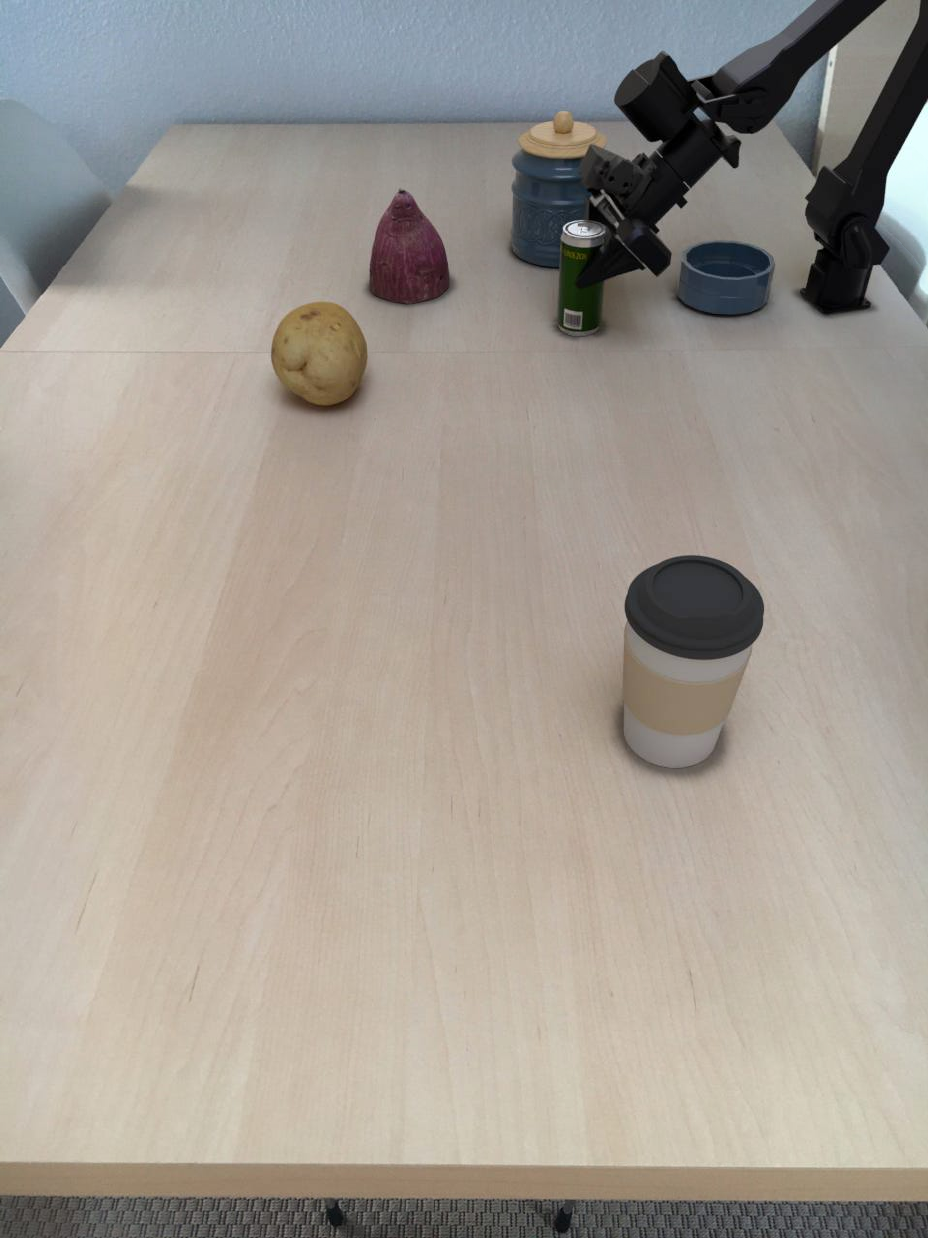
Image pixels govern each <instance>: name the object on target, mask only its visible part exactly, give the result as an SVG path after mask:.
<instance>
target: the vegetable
mask: <svg viewBox="0 0 928 1238" xmlns="http://www.w3.org/2000/svg"><path fill="white" fill-rule="evenodd" d="M369 262H370V263H369V281H368V282H369V291H370V292H371V294H372V295H374V296H376V297H378V298H379V299H384V300H387V301H388V302H389V301H390V302H393V303H398V304H399V303H400V304H404V305H406V304H416V303H420V302H421V303H422V302H424V301H425V302H426V301H429V300H432V299H436V298H437V297H439V296H441V295H442V294H443V293H444V292H445V291H446V290H448V288H449V287H450V282H451V281H450V269H449V262H448V256H447V251H446V248H445V244H444V242H443V239H442V238H441V236H440V234H439V232H438V231H437V229H436V227H435V226H434V225H433V223H432V222H431V221H430V219H429V218H428V216H427V215H425V214H424V212H423V211H422V210H421V208H420V207H419V205H418V204H417V202H416V200H415V197H414V196H413V195H412V194H411V193H410V192H409V191H407V190H405V189H403V188H402V187H398V191H397V192H396V194H395V195H394V196H393V198H392V200H391V202H390V204H389V206H388V207H387V208H386V209H385V211H384V212H383V214H382V216H381V217H380V220H379V222H378V224H377V226H376V230H375V235H374V239H373V244H372V246H371V253H370V261H369Z"/></svg>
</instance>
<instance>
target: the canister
mask: <svg viewBox="0 0 928 1238" xmlns="http://www.w3.org/2000/svg"><path fill="white" fill-rule="evenodd" d="M590 144H593V145H596V146H598V147H601V148H603V149H606V147H607V144H608V140H607V138H606V137H605V135H603V134H602V133H600V132H599V131H597V130H596V128H595V127H594V126H592V125H590V124H589V123H585V122H583V121H582V122H581V121H577V120H574V117H573V114H572V113H571V112H570V111H567V110H561V111H558V112H557V113H556V114H555V115H554V118H553V119H552V120H551V121H545V122H541V123H538V124H536V125H534V126H532V127H531V128H530V130H528V131H525V132H524V133H523V134H521V136H520V137H519V139H518V146H519V147H520V149H519V150H517V152H515V153H514V154H513V156H512V158H511V164H512V167H513V168H514V169H515V177H514V180H513V181H512V182H511V192H512V211H511V212H512V219H511V221H512V222H511V223H512V224H511V229H510V242H511V245H512V250H513V253H514V254H515V256H517V257H518V258H519V259H521V260H523V261H525V262H527V263H530V264H532V265H537V266H542V267H548V268H549V267H550V268H559V265H560V243H561V234H562V233H563V227H564V226H565V225H566V224H567V223H569V222H573V221H578V220H584V217H585V202H584V200H583V198H584V195H586V196H587V197H588V198H590V197H591V196H592V194H591V192H590V193H588V192H587V191H586V189H585V188H584V187H583V185H582V184H581V182H580V181H581V180H582V179H583V177H582V175H579V174H578V173H577V171H578V169H579V167H580V165H581V163H582V160H583V158H584V156H585V154H586V152H587V150H588V148H589V146H590Z"/></svg>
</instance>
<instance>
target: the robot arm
mask: <svg viewBox="0 0 928 1238" xmlns="http://www.w3.org/2000/svg"><path fill="white" fill-rule="evenodd" d="M887 1H888V0H815V1H814V2H813V3H811V4H810V5H809V6H807V8H806V9H805V10H804V11H803V12H802V13H800V14H799V15H798V16H797V17H796V18H795V19H794V20H793V21H791V22H790V23H789V24H788V25H787V26H786V27H785V28H784V29H783V30H782V31H780V32H779V33H778V34H776V35H775V36H773V37H772V38H770V39H768V40H766V41H764V42H761V43H759V44H756V45H754V46H752V47H749V48H747V49H745V50H744V51H743V52H741V53H739V54H738V55H737V56H735V57H733V59H731V60H729V61H728V62H726V63H725V64H723V65H722V66H721V67H720V68H719V69H718V70H716V72H715V73H711V74H707V75H703V76H699V77H694V78H690V79H687V78H686V77H685V76H684V75H683V73H682V72H681V71H680V69H679V67H678V64H677V63H676V61H675V60H674V59H673V58H672V57H671V55H670V54H668V52H666V51H665V50H660V52H659V53H658V54H657V55H656V56H655V57H654V58H652V59H651V58H650V59H648V60H646V61H644V62H642V63H641V64H640V65H638V66H637V67H636V68H635V69H634V68H632V69H631V70H630V71H629V72H628V73H627V74H626V76H624V78H623V79H622V81H621V82H620V84H619V85H618V86H617V89H616V91H615V93H614V97H613V103H614V105H615V106H616V107H617V108H618V110H619V111H620V112H621V113H622V114H623V115H624V116H625V117H626V118H627V120H628V121H629V122H630V123H631V124H632V125H633V127H634V128H635V129H636V130H637V131H638V132H639V133H640V134H641V135H642V136H643V137H644V139H645V140H646V141H647V142H649V143H656V142H660V141H661V144H660V145H659V146H658V147H656V150H654V151H653V152H652V153H651V154H650V155H649V156H648V155H647V154H646V153H645V152H642V153H639V154H637V155H636V156H635V157H634V158H633V159H632V160H631V159H629V158H625V157H623V156H621V155H619V154H618V153H614V152H612V151H610V150H608V149H606V148H604V149H603V148H601V147H598V146H596V145H593V144H590V146H589V148H588V150H587V152H586V154H585V156H584V158H583V160H582V163H581V165H580V167H579V169H578V171H577V173H578V174H579V175H582V177H583V179H582V180H581V181H580V182H581V184H582V185H583V187H584V188H585V189H586V191H587V192H588V193H590V192H591V194H592V196H591V197H590V198H588V197H587V196H586V195H584V198H583V200H584V202H585V217H584V220H590V221H596V222H599V223H601V224H603V225H604V226H605V234H604V243H603V245H602V247H601V248H600V249H599V251H598V252H597V253H596V254H595V256H594V257H593V258H592V259H591V261H590V262H589V263H588V264H587V266H586V267H585V268H584V269H583V271H582V272H581V273H580V275H579V276H578V278H577V279H576V280H575V282H574V284H575V286H576V287H577V288H578V289H584V288H586V287H589V286H591V285H594V284H597V283H599V282H602V281H604V282H605V281H608V280H610V279H612V278H616V277H618V276H621V275H624V274H629V273H630V272H634V271H638V270H640V271H644V270H646V269H648V270H649V271H650V272H651V273H652V274H653V275H654V276H655V277H656V278H659V277H660V276H661V275H662V274H663V272H665V271H666V270H667V269H668V268H669V267H670V266H671V263H672V255H673V252H672V251H671V250H670V248H669V247H668V246H667V245H666V244H665V242H664V241H663V240H662V239H661V237H659V236H658V233H659V232H660V231H661V230H660V228H659V227H658V226H657V224H658V223H659V222H660V221H661V220H662V219H663V218H664V217H665V215H667V214H668V213H669V212H670V211H671V209H673V208H674V206H677V207H679V208H680V210H682V209H683V208H684V207H685V206H686V205H687V204H688V203H689V201H688V200H687V199H686V198H685V195H687V193H688V192H689V191H690V190H691V189H693V187H694V186H695V185H696V184H697V183H698V182H699V181H700V180H701V179H702V178H703V177H704V176H705V175H706V174H707V173H708V172H709V171H710V170H711V169H712V168H713V167H714V166H715V165H716V164H717V163H718V162H719V161H720V160H721V159H723V160H724V162H725V163H727V165H729V166H730V167H731V168H732V169H733V170H734V169H735V170H736V169H737V168H738V167H739V166H740V149H741V145H742V141H741V140H740V139H739V138H738V137H737V136H736V135H735V134H731V135H726V134H725V132H724V131H723V129H721V127H720V126H719V125H718V124H717V123H722V124H725V125H727V126H728V127H729V128H730V129H731V130H732V132H736V133H738V134H741V135H749V134H750V135H754V134H757V133H759V132H760V131H761V130H763V129H765V128H766V127H767V126H768V125H769V124H770V123H771V121H773V119H774V118H775V117H776V116H777V115H778V114H779V113H780V111H782V110H783V108H784V107H785V106H786V105H787V103H788V102H789V101H790V100H791V98H792V97H793V94H794V92H795V91H796V88H797V86H798V85H799V83H800V81H801V79H802V78H803V77H804V76H805V74H806V73H807V72H808V71H809V70H810V69H811V68H812V67H814V66H815V65H816V64H817V63H818V62H819V61H821V59H822V58H823V57H824V56H826V54H828V53H829V52H830V51H831V50H832V49H834V48H835V47H836V46H837V45H838V44H840V42H841V41H843V40H844V39H845V38H846V37H847V36H848V35H850V34H851V33H852V32H853V31H854V30H855V29H856V28H858V26H860V25H861V24H862V23H864V21H865V20H866V19H868V18H869V17H870V16H871V15H872V14H874V12H876V10H878V9H879V8H880V7H881V6H883V4H885V3H886V2H887ZM918 9H919V11H918V17H917V20H916V23H915V25H914V27H913V29H912V30H911V33H910V35H909V36H908V38H907V40H906V41H905V42H906V43H905V44H904V46H903V48H902V51H900V54H899V56H898V58H897V60H896V61H895V64H894V66H893V67H892V70H891V71H890V73H889V76H888V77H887V79H886V81H885V83H884V85H883V87H882V89H881V91H880V93H879V95H878V98H876V100H875V103H874V105H873V106H872V109H871V111H870V113H869V115H868V116H867V119H866V121H865V123H864V124H863V126H862V128H861V130H860V132H859V134H858V136H857V138H856V139H855V142H854V144H853V146H852V147H851V150H850V152H849V154H848V155H847V156H846V158H844V160H842V161H841V162H840V163H838V164H837V165H836V166H835V167H834V168H833V169H832V168H830V167H828V166H827V165H823V166H822V167H821V168H820V170H819V172H818V174H817V177H816V180H815V182H814V185H813V187H812V189H811V190H810V191H809V192H808V193H807V194H806V196H805V197H804V199H805V200H806V201H807V204H806V207H805V211H804V216H805V219H806V223H807V225H808V227H809V228H810V229H811V230H812V232H813V240H815V242H816V243H817V242H818V243H819V244H820V245H821V246H822V248H820V249H817V250H816V253H815V258H814V262H813V263H811V264H810V268H809V272H808V277H807V281H806V285H805V287H802V288H800V290H799V294H800V295H801V296H803V297H804V298H805V299H806V300H807V301H808V302H810V304H812V305H813V306H814V307H815V308H817V310H819V311H820V312H821V313H822V314H824V315H830V314H837V313H844V312H849V311H856V310H863V309H869V308H871V306H872V302H871V301H870V300H868V299H867V298H866V294H867V290H868V286H869V283H870V279H871V275H872V272H873V269H874V266H881V264H882V263H883V262H884V260H885V258H886V257H887V256H888V254H889V252H890V249H891V248H890V246H889V244H888V243H887V242H886V240H885V239H884V238H883V237H882V235H881V234H880V233H879V231H878V230H877V229H876V227H877V224H878V222H879V219H880V218H881V217H880V216H881V214H882V211H883V208H884V206H885V200H886V190H887V180H888V175H889V172H890V170H891V169H892V166H893V164H894V163H895V161H896V159H897V157H898V155H899V154H900V152H901V150H902V148H903V147H904V145H905V143H906V141H907V139H908V137H909V135H910V133H911V131H912V129H913V128H914V126H915V124H916V122H917V120H918V118H919V116H920V115H921V113H922V111H923V109H924V107H925V106H926V104H927V103H928V0H919V8H918ZM697 109H699V110H700V111H701V112H702V113H703V114H705V115H706V116H707V117H708V118H705V119H701V120H700V119H699V117H698V116H697V115H696V114H695V113H694V112H695V111H696V110H697ZM617 223H618V225H617V226H616V224H617Z"/></svg>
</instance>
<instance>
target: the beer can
mask: <svg viewBox="0 0 928 1238" xmlns="http://www.w3.org/2000/svg"><path fill="white" fill-rule="evenodd" d="M604 234H605V226H604V225H603V224H601V223H599V222H596V221H590V220H578V221H573V222H569V223H567V224H566V225H565V226H564V227H563V233H562V234H561V243H560V265H559V267H558V269H559V270H558V289H557V290H558V291H557V310H556V311H557V313H556V315H557V316H556V324H557V326H558V328H559V330H560V331H561V332H562V333H563V334H566V335H568V336H572V337H587V336H591V335H593V334H595V333H596V332H597V331H598V330H599V329H600V326H601V324H602V319H603V307H604V306H603V304H604V292H605V281H602V282H599V283H597V284H594V285H591V286H589V287H586V288H584V289H578V288H577V287H576V286H575V284H574V282H575V280H576V279H577V278H578V276H579V275H580V273H581V272H582V271H583V269H584V268H585V267H586V266H587V264H588V263H589V262H590V261H591V259H592V258H593V257H594V256H595V254H596V253H597V252H598V251H599V249H600V248H601V247H602V245H603V243H604Z"/></svg>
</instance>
